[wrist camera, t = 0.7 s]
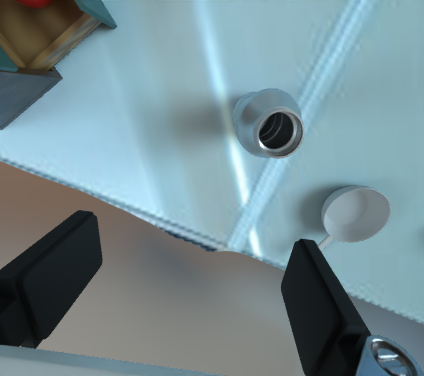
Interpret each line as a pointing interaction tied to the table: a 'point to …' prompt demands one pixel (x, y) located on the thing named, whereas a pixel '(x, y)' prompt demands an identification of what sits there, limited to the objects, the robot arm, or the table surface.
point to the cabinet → (21, 87)
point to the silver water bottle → (268, 123)
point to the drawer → (48, 30)
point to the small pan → (354, 214)
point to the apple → (35, 3)
